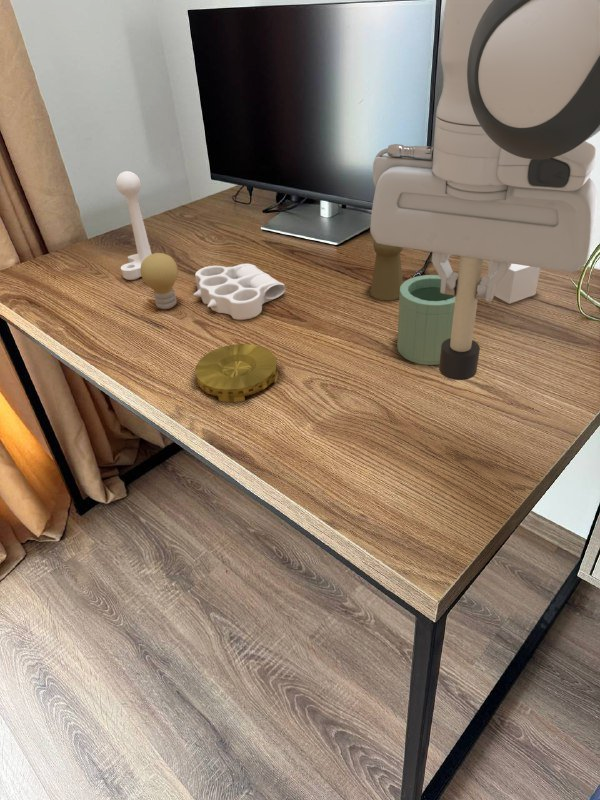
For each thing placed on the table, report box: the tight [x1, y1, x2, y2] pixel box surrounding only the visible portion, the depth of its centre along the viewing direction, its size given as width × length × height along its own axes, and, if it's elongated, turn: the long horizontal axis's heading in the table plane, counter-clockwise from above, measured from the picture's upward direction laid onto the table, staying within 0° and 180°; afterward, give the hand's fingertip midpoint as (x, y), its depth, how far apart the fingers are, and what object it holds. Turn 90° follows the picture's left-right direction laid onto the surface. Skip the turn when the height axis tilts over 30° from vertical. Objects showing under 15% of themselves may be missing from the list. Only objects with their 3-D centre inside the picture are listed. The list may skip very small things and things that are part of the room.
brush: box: [438, 256, 484, 381], centre depth 60 cm, size 4×4×15 cm
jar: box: [396, 274, 456, 366], centre depth 88 cm, size 10×10×10 cm
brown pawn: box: [369, 239, 404, 301], centre depth 103 cm, size 6×6×11 cm
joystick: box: [115, 170, 153, 281], centre depth 113 cm, size 11×8×20 cm
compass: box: [194, 343, 279, 403], centre depth 87 cm, size 12×12×2 cm
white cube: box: [486, 260, 541, 305], centre depth 102 cm, size 6×6×6 cm
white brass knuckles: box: [192, 263, 287, 321], centre depth 108 cm, size 3×18×15 cm
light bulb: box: [140, 252, 179, 310], centre depth 104 cm, size 6×6×10 cm
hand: (467, 295), depth 59 cm, fingers closed on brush, 2 cm apart
